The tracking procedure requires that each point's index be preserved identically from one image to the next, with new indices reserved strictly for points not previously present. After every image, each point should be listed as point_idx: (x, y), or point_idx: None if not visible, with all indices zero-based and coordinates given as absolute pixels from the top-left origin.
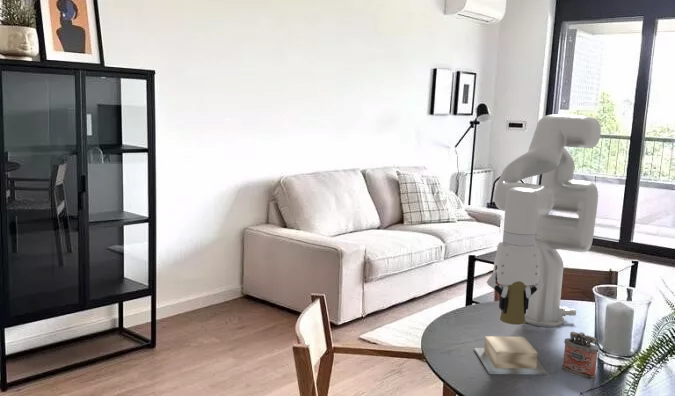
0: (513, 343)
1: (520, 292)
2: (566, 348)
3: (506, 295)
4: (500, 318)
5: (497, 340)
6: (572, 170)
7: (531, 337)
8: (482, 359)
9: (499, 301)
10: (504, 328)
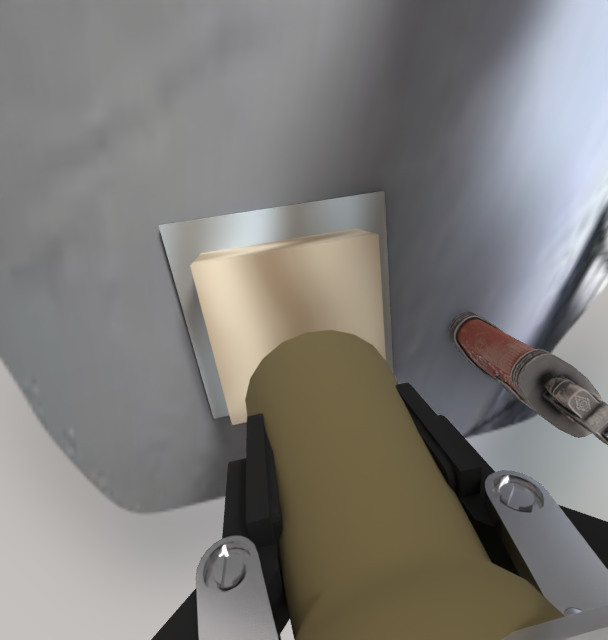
0: (314, 325)
1: None
2: (502, 372)
3: (285, 613)
4: (247, 412)
5: (247, 305)
6: None
7: (444, 5)
8: (192, 334)
9: (226, 498)
10: None
